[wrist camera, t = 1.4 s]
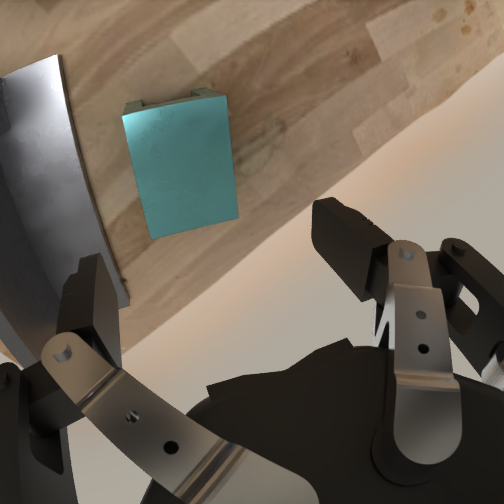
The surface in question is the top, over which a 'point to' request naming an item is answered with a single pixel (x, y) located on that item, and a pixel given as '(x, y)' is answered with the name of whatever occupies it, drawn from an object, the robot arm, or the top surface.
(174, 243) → the top surface
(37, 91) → the stand
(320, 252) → the robot arm
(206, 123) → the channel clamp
